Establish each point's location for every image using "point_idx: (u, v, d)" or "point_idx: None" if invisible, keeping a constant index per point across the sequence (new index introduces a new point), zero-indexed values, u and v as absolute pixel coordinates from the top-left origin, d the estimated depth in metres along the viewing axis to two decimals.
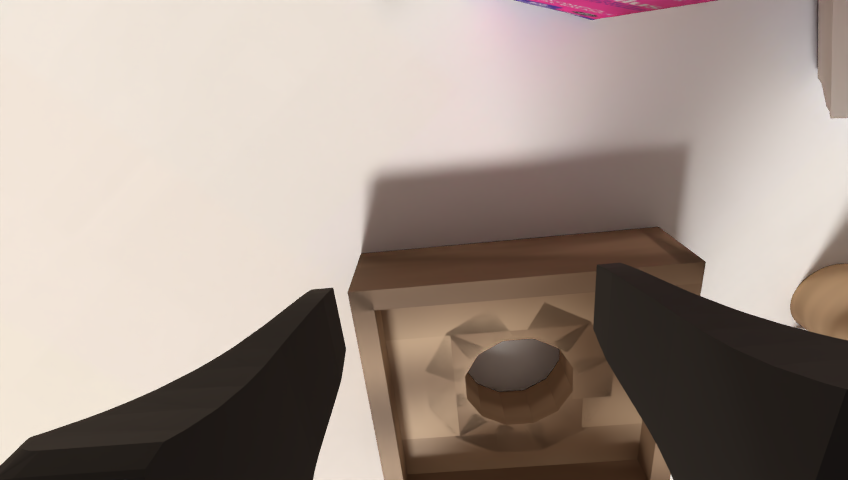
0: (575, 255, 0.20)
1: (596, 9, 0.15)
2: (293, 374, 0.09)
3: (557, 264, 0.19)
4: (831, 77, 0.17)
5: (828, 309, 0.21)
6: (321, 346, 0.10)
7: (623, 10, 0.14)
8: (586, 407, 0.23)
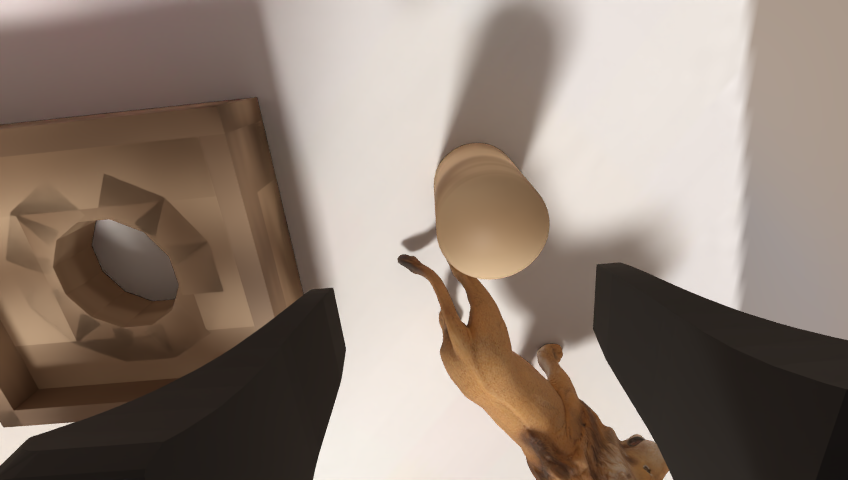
0: (117, 114, 0.17)
1: None
2: (293, 374, 0.09)
3: (81, 119, 0.17)
4: None
5: (436, 185, 0.19)
6: (321, 346, 0.10)
7: None
8: (202, 305, 0.21)
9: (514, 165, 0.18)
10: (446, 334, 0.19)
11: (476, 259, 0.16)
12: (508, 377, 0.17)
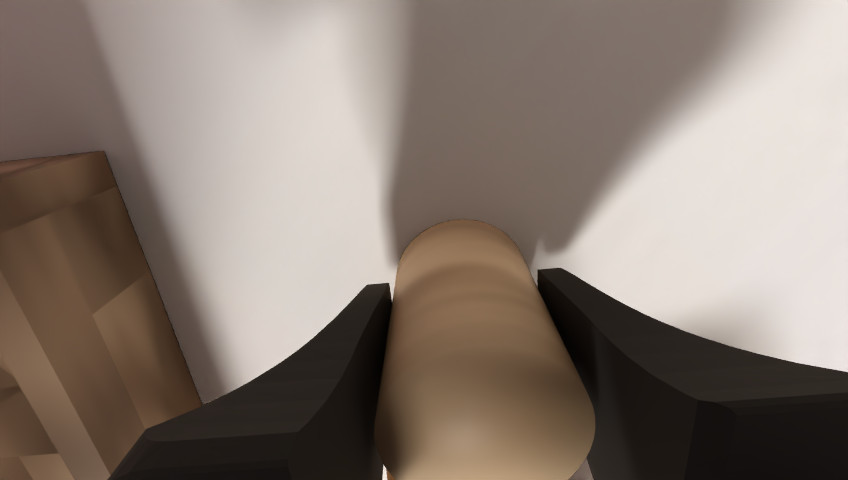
0: None
1: None
2: (367, 368, 0.09)
3: None
4: None
5: (393, 299, 0.11)
6: (384, 341, 0.10)
7: None
8: (34, 471, 0.13)
9: (524, 276, 0.10)
10: None
11: None
12: None
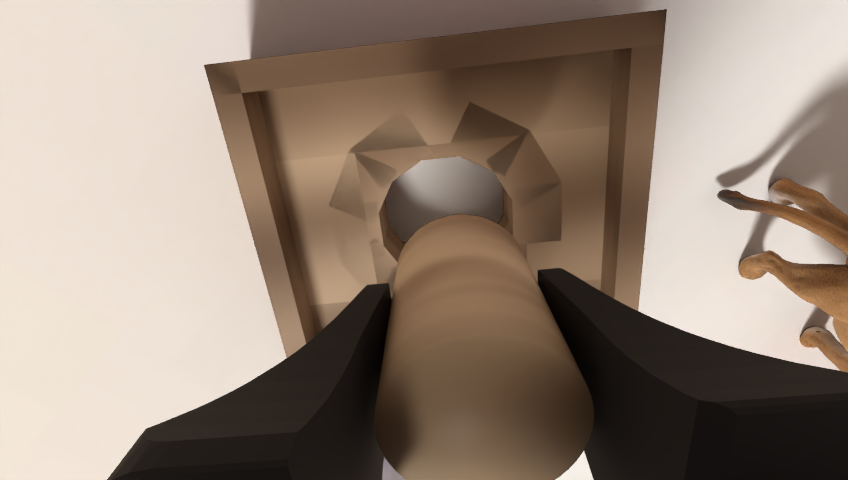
0: None
1: None
2: (367, 368, 0.09)
3: None
4: None
5: (393, 292, 0.11)
6: (384, 341, 0.10)
7: None
8: (531, 257, 0.19)
9: (524, 270, 0.10)
10: (830, 268, 0.17)
11: (452, 472, 0.08)
12: None
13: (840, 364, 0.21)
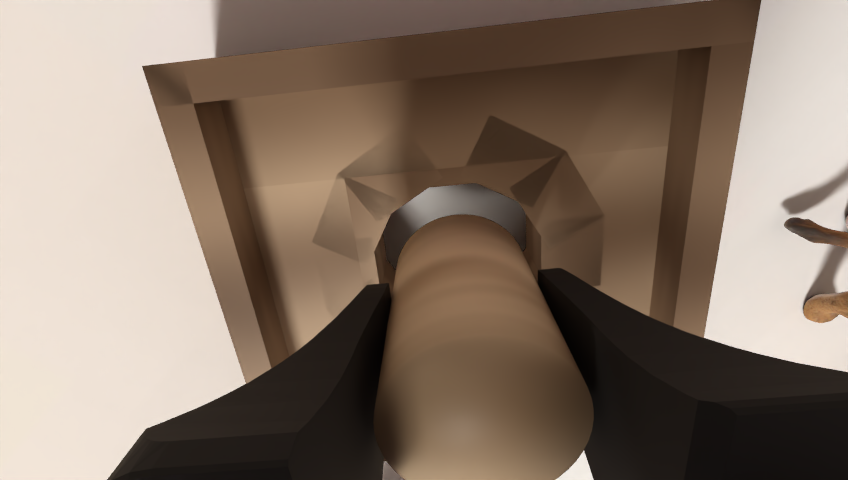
0: None
1: None
2: (367, 368, 0.09)
3: None
4: None
5: (393, 292, 0.11)
6: (384, 341, 0.10)
7: None
8: None
9: (523, 269, 0.10)
10: None
11: (452, 472, 0.08)
12: None
13: None
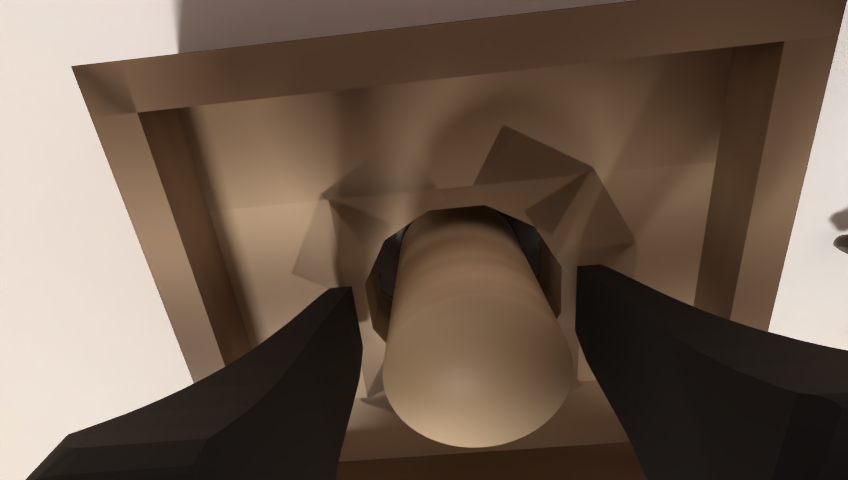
0: None
1: None
2: (317, 372, 0.09)
3: None
4: None
5: (397, 270, 0.13)
6: (342, 344, 0.10)
7: None
8: None
9: (515, 247, 0.12)
10: None
11: (450, 419, 0.10)
12: None
13: None
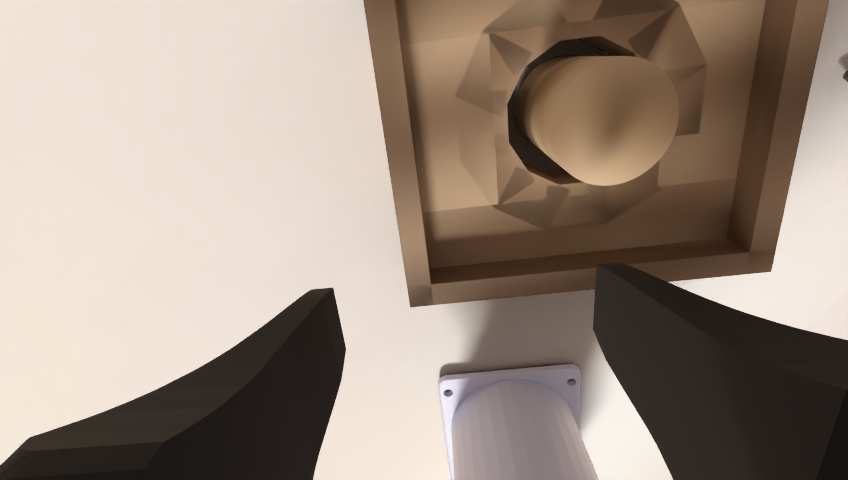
0: None
1: None
2: (293, 374, 0.09)
3: None
4: None
5: (527, 97, 0.17)
6: (321, 346, 0.10)
7: None
8: (665, 153, 0.18)
9: None
10: None
11: (592, 161, 0.14)
12: None
13: None
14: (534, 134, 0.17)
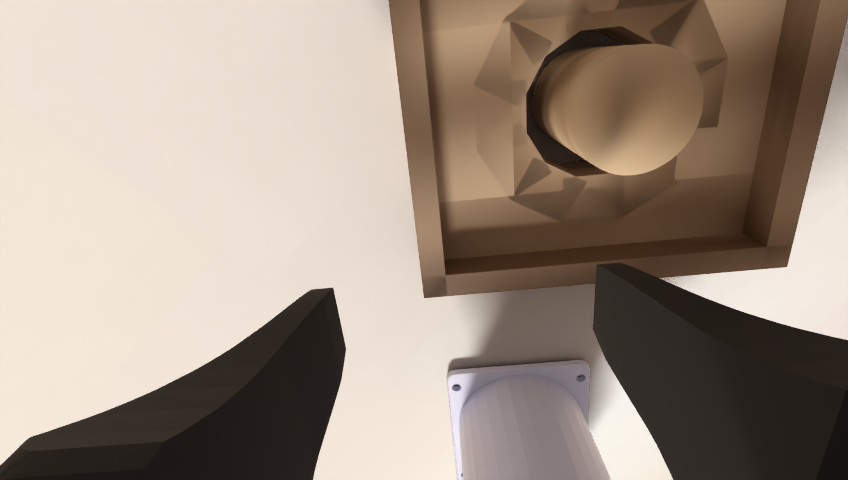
0: None
1: None
2: (293, 374, 0.09)
3: None
4: None
5: (546, 88, 0.17)
6: (321, 346, 0.10)
7: None
8: None
9: None
10: None
11: (614, 150, 0.14)
12: None
13: None
14: (553, 124, 0.16)
